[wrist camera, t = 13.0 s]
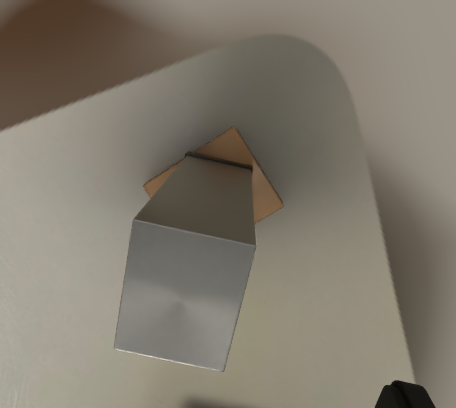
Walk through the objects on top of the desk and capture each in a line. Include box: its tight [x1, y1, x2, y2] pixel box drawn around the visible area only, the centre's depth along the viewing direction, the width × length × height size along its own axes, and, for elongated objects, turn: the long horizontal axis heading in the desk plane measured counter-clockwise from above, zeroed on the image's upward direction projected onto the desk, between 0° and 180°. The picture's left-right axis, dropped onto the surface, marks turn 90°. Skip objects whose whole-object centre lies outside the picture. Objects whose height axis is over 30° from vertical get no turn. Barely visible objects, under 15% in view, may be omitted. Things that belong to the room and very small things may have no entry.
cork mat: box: [143, 126, 284, 223], centre depth 25 cm, size 7×6×1 cm
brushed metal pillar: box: [114, 152, 256, 372], centre depth 19 cm, size 5×4×12 cm
